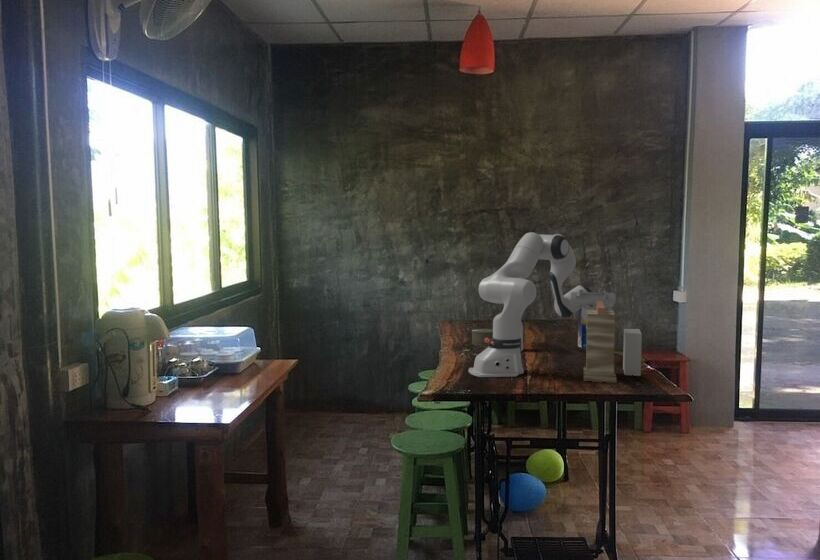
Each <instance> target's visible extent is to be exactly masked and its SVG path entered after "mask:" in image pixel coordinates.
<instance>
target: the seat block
mask: <svg viewBox="0 0 820 560" xmlns="http://www.w3.org/2000/svg"><path fill="white" fill-rule="evenodd" d="M642 336H643V334H642V332H641V329H639V328H623V345H622V346H623V353H622V356H623V357H622V370H624V371H623V373H624V376H632V375H633V376H636V377H640V376H641V374H642V342H643V341H642V339H643V337H642Z"/></svg>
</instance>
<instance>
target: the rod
mask: <svg viewBox="0 0 820 560" xmlns="http://www.w3.org/2000/svg"><path fill="white" fill-rule="evenodd" d="M596 308H597V313H598V314H600V315H605V307H604V304H603V301H596Z"/></svg>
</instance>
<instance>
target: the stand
mask: <svg viewBox="0 0 820 560" xmlns="http://www.w3.org/2000/svg"><path fill="white" fill-rule="evenodd" d="M615 320H616V314H615V312H614V309H611V310H605V315H600V314H598V313H597V309H587V344H586V348H585V349H586V350H585V352H586V353H585V354H586V355H585V357H586V358H585V360H586V361H585V366H583V369H582V370H583V371H582V372H583V374H584V375H583V382H585V381H592V382H591V383H602V382H606V383H607V384H617V374H616V370H615V333H616V332H615V331H616V330H615V329H616V328H615V326H616V321H615ZM606 383H605V384H606Z"/></svg>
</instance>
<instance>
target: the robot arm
mask: <svg viewBox="0 0 820 560" xmlns="http://www.w3.org/2000/svg"><path fill="white" fill-rule="evenodd" d="M573 250H574V249H573V248H572V247H571V245H570V242H569V240H568V239H567V238H566V237H565V235H562V234H561V233H553V234H541V233H540V234H539V233H537V232H534V231H533V232H527V233H525V234H524V235H523V236H522V237H521V238H520V239H519V241H518V242H517V244H516V245H515V247H514V249H513V250H512V252H511V254H510V256H509V257H508V258H507V260H506V262H505V263H504V264H503V265H502V266H501V267H500V268H499V269H498V270H496V272H494V273H492V274H490V275H489V276H486V277H485V278H483V279H482V280H481V281H480V282H479V284H478V288H477V289H478V294H479V298H481V299H482V300H483V301H485V302H489V303H491V304H492V303H493V304H500V305H503V309H502V311H501V312H499V313H498V314H496V315H495V316H494V317H493V320H492V329H493V337H492V338H491V339H488V338H485V340H484V341H485V342H486V343H488V345H487V348H485V349H483V351H481V352H480V353H478V354H477V355H476V356H475V359H474V364H473V367H469V368H468V373H469V374H470V375H473V376H475V377H479V378H501V377H502V378H505V377H506V378H508V377H509V378H510V377H511V378H512V377H514V378H515V377H518V376H519V375H522V374H524V373H525V371H524V368H523V363H522V356H521V352H522V351H521V338H520V325H521V322H522V317H523V314H524V312H525V310H526V309H527V308H528V307H529V306H530V305H531V304H532V303H533V302H534V301H535V299H536V297H537V286H536V284H535V283H534V281H531V280H529V279H527V278H529V276H530V275H532V273H533V270H534V269H535V267H536V265H537V262H538V261H539V260H544V261H545V260H546V261H547V260H549V262H550V271H549V273H548V283H549V287H550V290H551V291H550V292H551V296H552V299H553V307H554V311H555V313H556V314H557V315H558V316H559V317H560V318H564V319H568V318H570V317H571V316H573V315H574V314H575V313H576V312H578V311H579V309H581V312H582V317H583V319H584V321H586V322H587V309H597V308H596V301H603V304H604V307H605V310H613V307H614V306H615V304H616V302H617V299H616V298H617V297H616V296H617V295H616V293H614V292H608V291H606V290H605V289H604V290H601V292H593V291H592V290H591V289H590V287H588V286H586V285H582V284H580V285H578V284H577V286H574V288H572V289H571V290H569V291H568V292H567V293H563V288H562V286H563V284H564V282H565V280H566V279H567V278H568V276H570V274H572V272H573V271H574V269H575V268H576V266H577V265H576V264H577V259H576V256H575V253H574V251H573Z"/></svg>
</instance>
